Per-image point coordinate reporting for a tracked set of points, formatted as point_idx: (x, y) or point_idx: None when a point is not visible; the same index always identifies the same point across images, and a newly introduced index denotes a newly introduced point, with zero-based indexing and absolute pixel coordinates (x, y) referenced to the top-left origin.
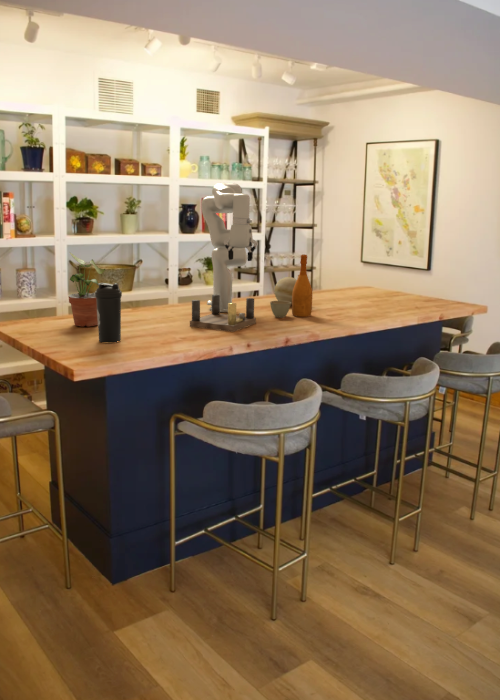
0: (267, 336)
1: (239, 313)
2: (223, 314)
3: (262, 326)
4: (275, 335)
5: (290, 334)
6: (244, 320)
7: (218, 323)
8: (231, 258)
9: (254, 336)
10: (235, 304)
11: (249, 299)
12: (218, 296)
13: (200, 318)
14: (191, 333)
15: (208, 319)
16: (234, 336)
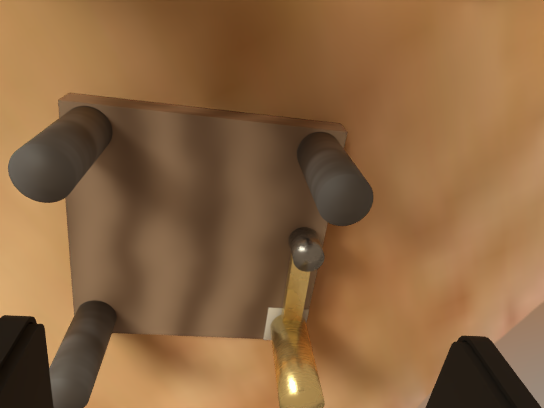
0: (441, 333)
1: (295, 262)
2: (134, 116)
3: (390, 181)
4: (468, 309)
5: (525, 273)
6: (310, 221)
7: (222, 325)
8: (43, 395)
9: (395, 351)
10: (322, 405)
11: (345, 225)
12: (76, 183)
13: (86, 270)
14: (165, 400)
15: (136, 274)
16: (327, 377)
